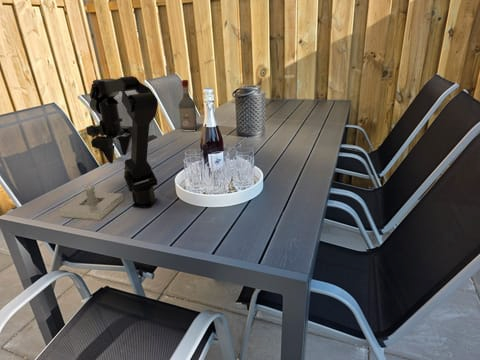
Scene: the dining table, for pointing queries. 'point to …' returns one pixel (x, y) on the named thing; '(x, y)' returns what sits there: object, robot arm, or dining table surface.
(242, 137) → the dining table surface
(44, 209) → the dining table surface
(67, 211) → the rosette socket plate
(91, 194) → the rook chess piece
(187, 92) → the liquor
